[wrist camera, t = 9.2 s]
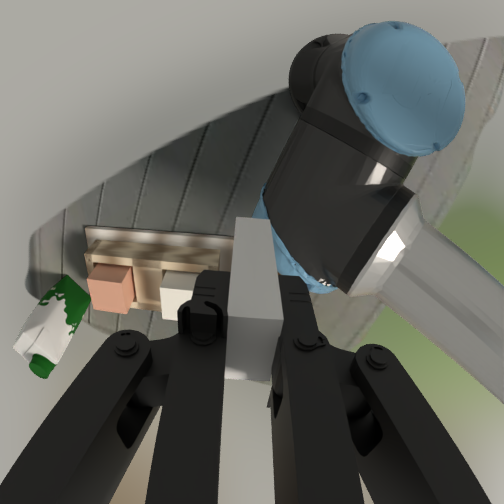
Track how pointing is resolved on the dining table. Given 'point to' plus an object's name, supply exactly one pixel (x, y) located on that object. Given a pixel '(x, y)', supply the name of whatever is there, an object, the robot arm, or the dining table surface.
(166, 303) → the white block
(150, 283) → the housing
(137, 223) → the dining table surface
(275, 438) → the robot arm
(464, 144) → the dining table surface
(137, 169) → the dining table surface
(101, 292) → the salmon pink block
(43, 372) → the milk carton
